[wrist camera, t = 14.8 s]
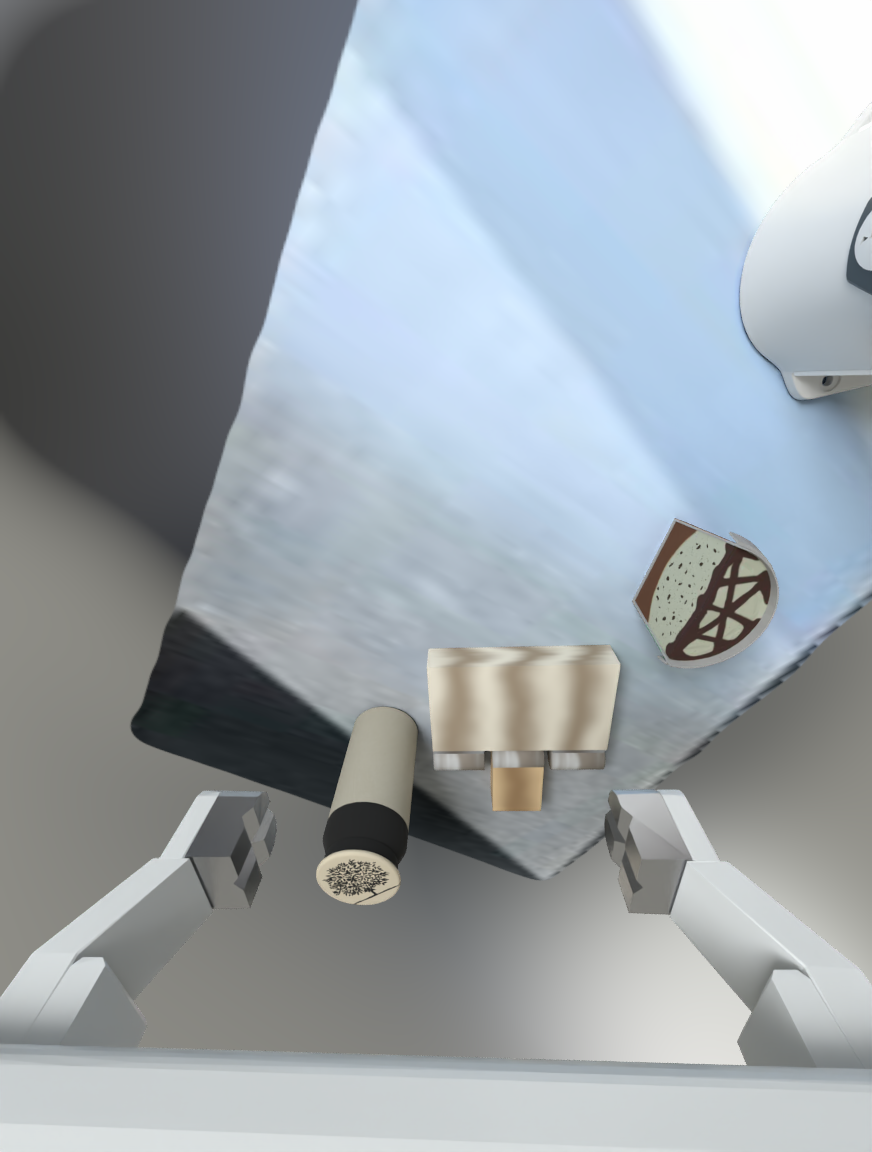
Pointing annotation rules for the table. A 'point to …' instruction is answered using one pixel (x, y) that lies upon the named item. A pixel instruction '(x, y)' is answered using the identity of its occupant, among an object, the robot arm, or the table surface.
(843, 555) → the table surface
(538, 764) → the tan rectangular block
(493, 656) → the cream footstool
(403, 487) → the table surface
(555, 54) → the table surface
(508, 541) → the table surface
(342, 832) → the travel mug
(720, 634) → the food container
